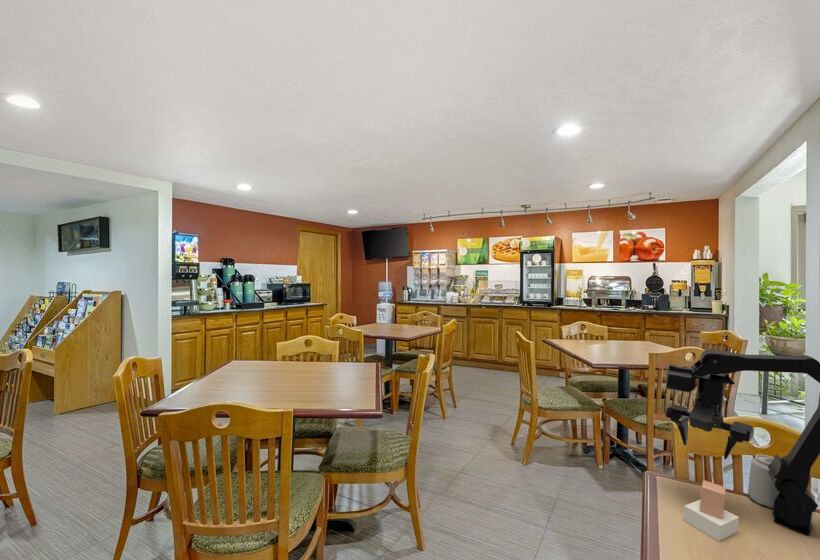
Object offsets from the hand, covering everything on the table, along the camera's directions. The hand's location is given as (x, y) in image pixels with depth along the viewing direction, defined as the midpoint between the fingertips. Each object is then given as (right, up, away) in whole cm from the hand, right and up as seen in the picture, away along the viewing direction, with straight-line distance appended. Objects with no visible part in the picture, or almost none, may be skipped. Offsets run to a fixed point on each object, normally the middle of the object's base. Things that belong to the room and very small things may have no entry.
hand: (704, 451), depth 110 cm
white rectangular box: (-7, -14, -11) cm, 19 cm away
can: (+17, -14, 0) cm, 22 cm away
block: (-6, -10, -11) cm, 16 cm away
